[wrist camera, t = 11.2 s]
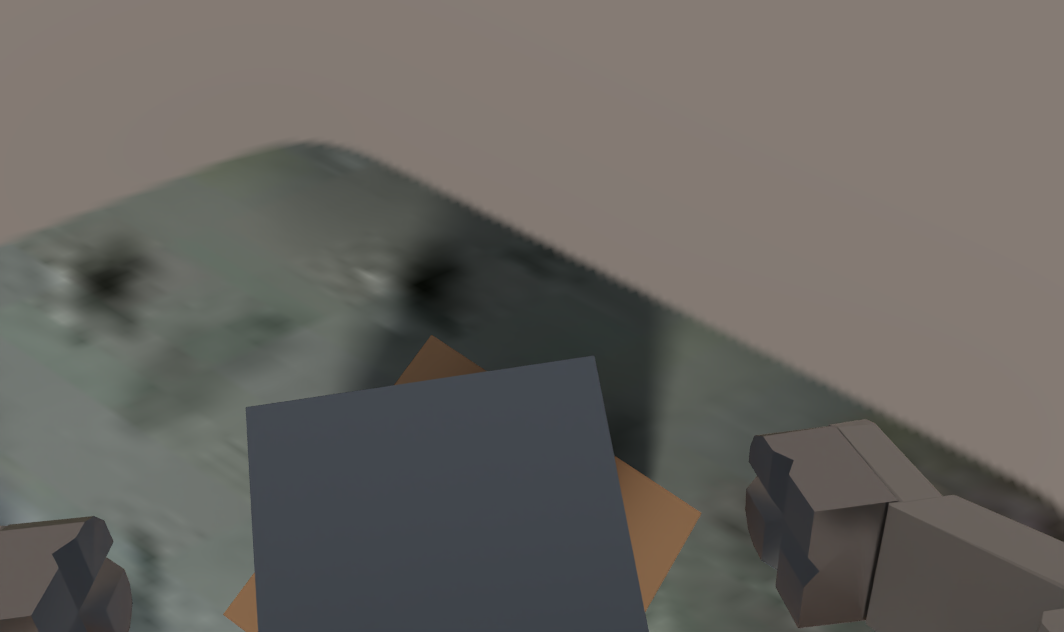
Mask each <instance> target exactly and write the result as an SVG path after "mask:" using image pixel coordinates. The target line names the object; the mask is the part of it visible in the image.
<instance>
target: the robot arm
mask: <svg viewBox="0 0 1064 632" xmlns="http://www.w3.org/2000/svg"><path fill="white" fill-rule="evenodd" d="M749 463H750V464H751V466H752V468H753V469H754V471H755V473H756V474H757V477H756V478H755V479H754V480H753V482H752V483H751V484H750V485H749V486H748V488H747V489H746V507H745V511H746V517H747V524H748V530H749V533H750V536H751V539H752V542H753V545H754V547H755V549H756V551H757V553H758V555H759V557H760V559H761V561H763V562H765V563H766V564H768V565H770V566H771V567H773V568H775V569H776V570H777V578H776V588H777V590H778V592H779V594H780V596H781V598H782V599H783V601H784V603H785V605H786V607H787V608H788V610H789V612H790V614H791V616H792V618H793V619H794V621H795V623H796V625H797V627H798V628H804V627H813V626H821V625H830V624H838V623H847V622H855V621H864V620H866V623H865V624H867V625H868V626H869V627H871V628H872V629H873V630H875V631H876V632H1064V542H1062V541H1060V540H1057V539H1055V538H1053V537H1051V536H1048V535H1046V534H1044V533H1041V532H1039V531H1037V530H1034V529H1032V528H1030V527H1027V526H1025V525H1023V524H1021V523H1018V522H1016V521H1014V520H1011V519H1009V518H1007V517H1004V516H1002V515H1000V514H997V513H995V512H993V511H990V510H988V509H986V508H984V507H981V506H979V505H977V504H974V503H972V502H970V501H967V500H965V499H963V498H960V497H958V496H956V495H949V496H942V495H941V494H940V493H939V492H938V491H937V490H936V489H935V487H934V486H933V485H932V484H931V483H930V482H929V481H928V480H927V479H926V478H925V477H924V476H923V475H922V473H921V472H920V471H919V470H918V469H917V468H916V467H915V466H914V465H913V464H912V463H911V462H910V461H909V459H908V458H907V457H906V456H905V455H904V454H903V453H902V452H901V451H900V450H899V449H898V448H897V447H896V446H895V444H894V443H893V442H892V441H891V440H890V439H889V438H888V437H887V436H886V435H885V434H884V433H883V432H882V430H881V429H880V428H879V427H878V426H877V425H876V424H875V423H873V422H871V421H869V420H866V419H864V420H857V421H851V422H844V423H838V424H831V425H829V426H826V427H818V428H810V429H802V430H795V431H787V432H779V433H771V434H763V435H755V436H754V438H753V441H752V443H751V446H750V455H749ZM112 544H113V539H112V537H111V535H110V532H109V530H108V528H107V526H106V523H105V521H104V520H102V519H99V518H97V517H95V516H90V517H80V518H71V519H61V520H51V521H41V522H31V523H21V524H12V525H8V526H0V632H128V631H129V628H130V621H131V613H132V604H133V603H132V596H131V588H130V583H129V581H128V578H127V575H126V573H125V570H124V569H123V568H122V567H120V566H119V565H117V564H116V563H114V562H113V561H111V560H110V559H108V558H107V557H106V556H107V554H108V552H109V550H110V548H111V546H112Z"/></svg>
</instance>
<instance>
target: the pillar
mask: <svg viewBox="0 0 1064 632" xmlns="http://www.w3.org/2000/svg"><path fill="white" fill-rule="evenodd" d="M246 421H247V440H248V458H249V476H250V494H251V512H252V531H253V549H254V567H255V585H256V604H257V622H258V632H649V630H648V625H647V620H646V615H645V610H644V605H643V600H642V595H641V590H640V584H639V579H638V574H637V569H636V564H635V559H634V554H633V549H632V544H631V539H630V534H629V529H628V524H627V518H626V513H625V508H624V503H623V498H622V493H621V488H620V483H619V478H618V473H617V468H616V463H615V458H614V452H613V447H612V442H611V437H610V432H609V427H608V422H607V417H606V412H605V407H604V402H603V397H602V392H601V386H600V381H599V376H598V371H597V366H596V361H595V356H594V355H593V356H587V357H580V358H573V359H567V360H560V361H553V362H546V363H540V364H533V365H526V366H520V367H513V368H506V369H499V370H493V371H486V372H479V373H473V374H466V375H459V376H452V377H446V378H439V379H432V380H426V381H419V382H412V383H406V384H399V385H392V386H385V387H379V388H372V389H365V390H359V391H352V392H345V393H338V394H332V395H325V396H318V397H312V398H305V399H298V400H292V401H285V402H278V403H271V404H265V405H258V406H251V407H246Z"/></svg>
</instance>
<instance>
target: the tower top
mask: <svg viewBox="0 0 1064 632" xmlns="http://www.w3.org/2000/svg"><path fill="white" fill-rule="evenodd" d="M479 372H486V370H484V369H483V368H481V367H480V366H478V365H476V364H475V363H473V362H472V361H470V360H469V359H467V358H466V357H464V356H463V355H461V354H460V353H458V352H457V351H455V350H454V349H452V348H451V347H449V346H448V345H446V344H445V343H443V342H442V341H440V340H439V339H437V338H436V337H434V336H433V335H431V336H430V337H429V339H428V340H427V341H426V343H425V344H424V345H423V347H422V348H421V349H420V351H419V352H418V354H417V355H416V356H415V358H414V359H413V360H412V362H411V363H410V364H409V366H408V367H407V368H406V370H405V371H404V372H403V374H402V375H401V376H400V378H399V379H398V380H397V382H396V383H395V384H394V385H399V384H406V383H412V382H419V381H426V380H432V379H439V378H446V377H452V376H459V375H466V374H473V373H479ZM614 458H615V463H616V468H617V473H618V478H619V483H620V488H621V493H622V498H623V503H624V508H625V513H626V518H627V524H628V529H629V534H630V539H631V544H632V549H633V554H634V559H635V564H636V569H637V574H638V579H639V584H640V590H641V595H642V600H643V605H644V610H645V612H646V610H647V608H648V606H649V605H650V603H651V601H652V599H653V598H654V596H655V594H656V592H657V591H658V589H659V587H660V585H661V584H662V582H663V580H664V578H665V577H666V575H667V573H668V571H669V569H670V568H671V566H672V564H673V562H674V561H675V559H676V557H677V555H678V554H679V552H680V550H681V548H682V547H683V545H684V543H685V541H686V540H687V538H688V536H689V534H690V533H691V531H692V529H693V527H694V526H695V524H696V522H697V520H698V519H699V517H700V515H701V513H700V512H699V511H697V510H696V509H694V508H693V507H691V506H690V505H688V504H687V503H685V502H684V501H682V500H681V499H679V498H678V497H676V496H675V495H673V494H672V493H670V492H669V491H667V490H666V489H664V488H663V487H661V486H660V485H658V484H657V483H655V482H654V481H652V480H651V479H649V478H648V477H646V476H644V475H643V474H641V473H640V472H638V471H637V470H635V469H634V468H632V467H631V466H629V465H628V464H626V463H625V462H623V461H622V460H620V459H619V458H617V457H616V456H614ZM223 615H224V616H226V617H227V618H228V619H230V620H231V621H232V622H234V623H235V624H236V625H238V626H239V627H240V628H242V629H243V630H244V631H246V632H258V622H257V604H256V585H255V572H254V574H253V575H252V577H251V578H250V579H249V581H248V582H247V583H246V585H245V586H244V587H243V589H242V590H241V591H240V593H239V594H238V595H237V597H236V598H235V599H234V601H233V602H232V603H231V605H230V606H229V607H228V609H227V610H226V611H225V613H224V614H223Z"/></svg>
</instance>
